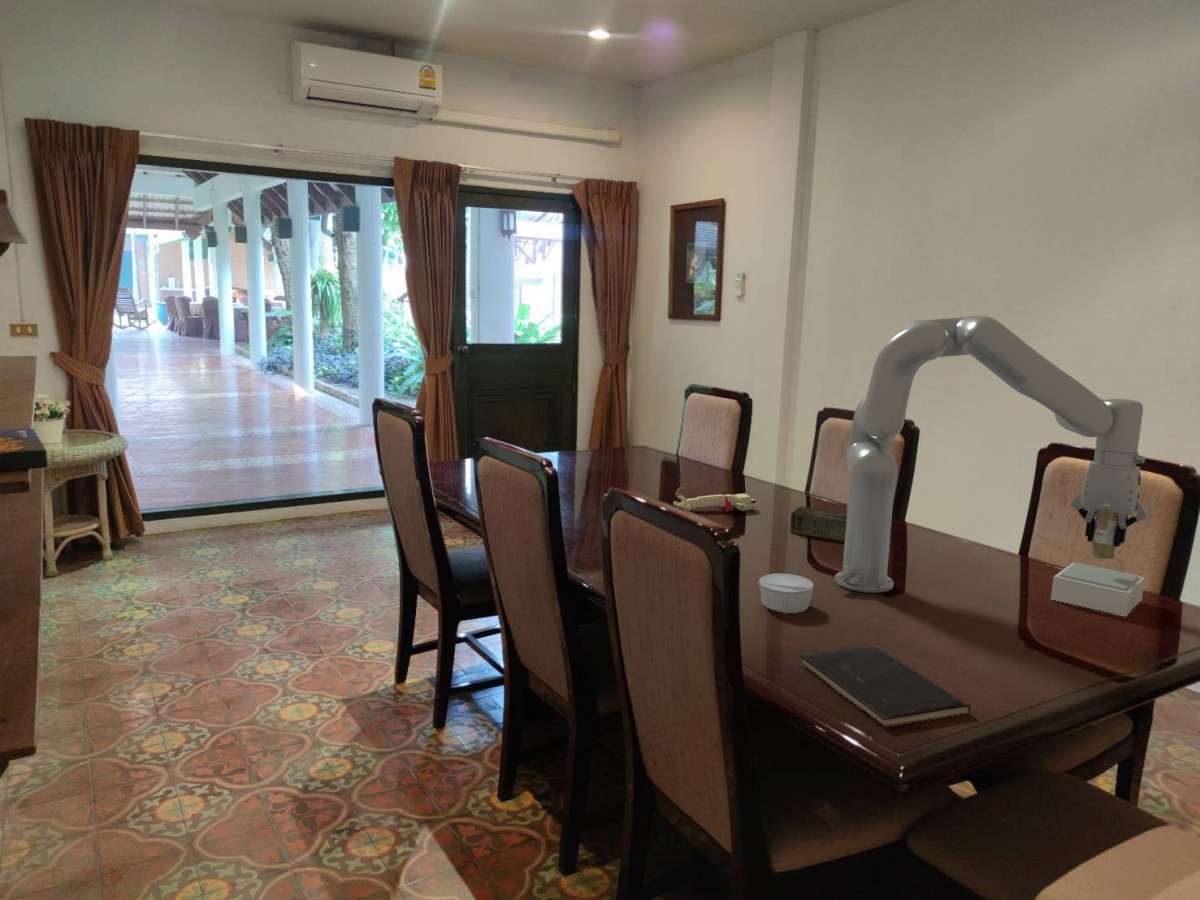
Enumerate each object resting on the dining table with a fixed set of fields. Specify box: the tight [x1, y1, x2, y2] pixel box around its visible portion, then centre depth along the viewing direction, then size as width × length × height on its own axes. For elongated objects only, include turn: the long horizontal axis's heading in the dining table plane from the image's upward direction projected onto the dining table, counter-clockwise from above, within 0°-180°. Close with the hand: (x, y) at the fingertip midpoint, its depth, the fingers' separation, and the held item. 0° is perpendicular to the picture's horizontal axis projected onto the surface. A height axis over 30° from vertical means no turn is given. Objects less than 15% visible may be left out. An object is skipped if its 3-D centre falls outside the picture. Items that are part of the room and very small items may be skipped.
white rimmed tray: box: [1050, 562, 1145, 617], centre depth 178 cm, size 14×14×6 cm
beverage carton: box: [790, 506, 847, 543], centre depth 225 cm, size 8×19×7 cm, turn 59°
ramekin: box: [758, 572, 815, 614], centre depth 172 cm, size 11×11×5 cm
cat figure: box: [672, 486, 757, 513], centre depth 249 cm, size 10×9×25 cm
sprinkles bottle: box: [1089, 503, 1119, 560], centre depth 176 cm, size 5×5×13 cm
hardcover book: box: [799, 644, 971, 725], centre depth 136 cm, size 16×23×2 cm
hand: (1104, 541), depth 176 cm, fingers closed on sprinkles bottle, 4 cm apart
